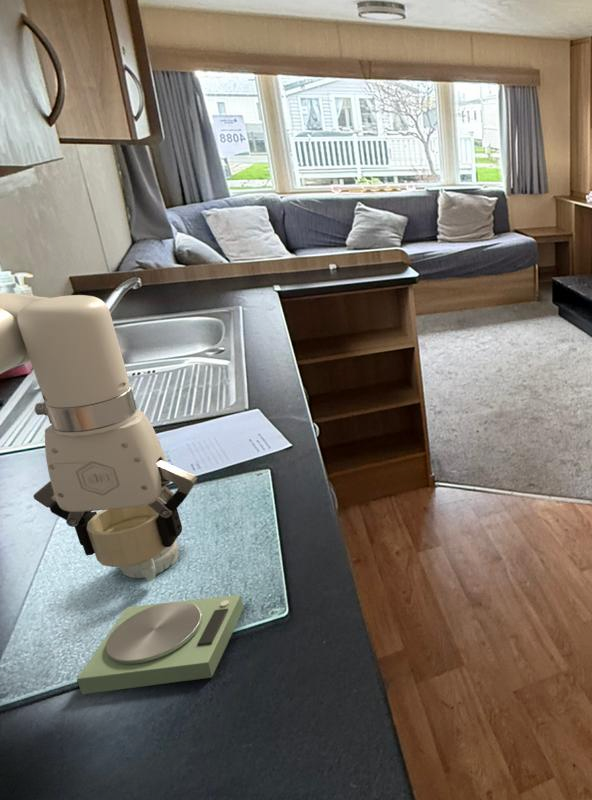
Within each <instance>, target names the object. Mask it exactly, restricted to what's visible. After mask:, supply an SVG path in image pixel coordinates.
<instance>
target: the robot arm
mask: <svg viewBox="0 0 592 800" xmlns="http://www.w3.org/2000/svg"><path fill="white" fill-rule="evenodd" d="M27 363H31V366H32V370H33V372H34V375H35V377H36V381H37V384H38V387H39V390H40V393H41V396H42V399H43V402H37V403H36V404H35V406H34V413H35V414H36V415H37V416H46V417H47V418H48V421H49V424H50V425H49V426H48V427H46V428H45V430H44V451H45V459H46V465H47V471H48V476H49V480H50V481H48V482H47V483H45V485H43V486H42V487H40V488H39V490H37V491H36V492H35V493H34V494H33V499H34V500H35V501H37V502H38V503H39V504H41V505H43V506H44V507H46V508H49V511H50V512H51V513H52V514H53V515H56V516H57V517H59V518H60V519H63V520H65V522H66V525H67V526H69V527H71V528H74V530H75V532H76V536H77V538H78V542H79V544H80V546H82V548H83V550H84V554H85V555H86V556H93V555H95V552H94V549H93V546H92V543H91V540H90V537H89V534H88V531H87V524H88V522H89V521H90V520H91V518H92V517H93V516H95V515H96V514H98V512H97V511H102V510H109V509H120V508H130V507H139V506H145V505H149V506H150V507H151V508H152V509H153V510H154V511H155V512H157V513H158V514H159V515H160V516H159V517H158V518H157V520H156V523H157V527H158V530H159V534H160V537H161V541H162V544H163V546H165V547H171V546H172V544H173V543H174V541H175V540H176V541H177V539H178V538H179V536H180V535H181V534H182V532H183V526H182V521H181V518H180V513H179V511H178V508H179V506H181V505H182V503H183V502H184V501H185V500H186V498H187V497H188V495H190V492H191V491H192V489H193V488H194V486H195V484H196V483H197V482H198V477H197V476H196V475H195V474H192V473H191V472H188V471H186V470H183V469H182V468H180V467H177V466H175V465H172V464H170V463H169V462H168V461H167V457H166V455H165V451H164V449H163V446H162V445H161V442H160V440H159V437H158V435H157V433H156V431H155V429H154V427H153V424H152V423H151V421H150V420H149V418H148V416H147V415H146V413H145V412H144V411H143V410H138V408H137V403H136V400H135V397H134V393H133V390H132V387H131V383H130V379H129V376H128V372H127V368H126V364H125V361H124V357H123V355H122V351H121V346H120V343H119V339H118V335H117V332H116V329H115V326H114V322H113V318H112V315H111V311H110V308H109V307H108V305H107V304H106V302H105V301H103V300H102V299H100V298H99V297H96V296H93V295H84V294H75V295H74V294H73V295H61V296H54V297H53V296H52V297H46V296H39V295H38V296H37V295H30V294H22V293H13V292H1V293H0V375H1V374H3V373H5V372H7V371H9V370H11V369H14V368H17V367H20V366H22V365H24V364H27ZM171 483H173V484H175V485H177V489H176V491H175V493H174V492H173V491H171V490H170V488H169V487H167V486H168V485H170V484H171Z"/></svg>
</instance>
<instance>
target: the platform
mask: <svg viewBox="0 0 592 800" xmlns="http://www.w3.org/2000/svg"><path fill="white" fill-rule="evenodd" d="M163 603H164V604H161V603H158V604H159V605H156V606H153V607H150V608H147V609H145V610H143V611H141V612H139V613H137V614H135V615H133V616H131V617H130V618H128V619H127V620H125V621H124V622H123V623H121V624H120V625H119V626H118V627H117V628H116V629H115V630H114V631H113V632H112V634H111V635H110V637H109V638H108V641H107V644H106V650H107V653H108V656H109V657H110V658H111V659H112V660H113V661H115V662H118V663H122V664H138V663H144V662H148V661H152V660H155V659H158V658H160V657H163V656H165V655H167V654H169V653H171V652H173V651H175V650H176V649H178V648H179V647H181V646H182V645H184V644H185V643H186V642H187V641H189V640H190V639H191V638H192V637H193V636H194V635H195V633H196V632H197V631H198V629H199V627H200V625H201V622H202V616H201V612H200V610H199V608H198V607H197V606H195V605H193V604H191V603H187V602H179V601H170V602H163Z"/></svg>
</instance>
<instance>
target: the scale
mask: <svg viewBox="0 0 592 800" xmlns="http://www.w3.org/2000/svg"><path fill="white" fill-rule="evenodd" d="M178 602H187V603H191V604H193V605H195V606H197V607H198V608H199V610H200V612H201V616H202V622H201V625H200V627H199V629H198V631H197V632H196V633H195V635H194V636H193V637H192V638H191V639H190V640H189V641H187V642H186V643H185V644H184V645H182V646H181V647H179V648H178V649H176V650H175V651H173V652H171V653H169V654H167V655H165V656H163V657H160V658H158V659H155V660H152V661H148V662H144V663H138V664H122V663H118V662H115V661H113V660H112V659H111V658H110V657H109V656H108V653H107V650H106V644H107V641H108V638H109V637H110V635H111V634H112V632H113V631H114V630H115V629H116V628H117V627H118V626H119V625H120V624H121V623H123V622H124V621H125V620H127V619H128V618H130V617H131V616H133V615H135V614H137V613H139V612H141V611H143V610H145V609H147V608H150V607H153V606H156V605H159V604H164V603H165V602H163V603H162V602H161V603H154V604H145V605H136V606H128V607H126V608H125V609H124V611H122V613H121V615H120V616H119V618H118V619H117V621H116V622H115V624H114V625H113V626H112V628H111V629H110V631H109V632H108V633H107V634H106V636H105V638H104V640H103V641H101V643H100V645H99V646H98V648H97V649H96V651H95V652H94V654H93V655H92V657H90V659H89V660H88V662H87V663H86V664H85V667H84V668H83V669H82V670H81V672H80V673H79V675H78V676H77V678H76V681H77V685H78V687H79V689H80V693H81V694H82V695H89V694H96V693H102V692H111V691H119V690H127V689H133V688H134V689H135V688H141V687H142V688H143V687H148V686H149V687H150V686H156V685H157V686H158V685H164V684H170V683H171V684H172V683H180V682H187V681H195V680H203V679H210V678H211V679H212V678H213V676H214V674H215V672H216V670H217V667H218V666H219V663H220V661H221V659H222V657H223V655H224V652H225V650H226V648H227V646H228V644H229V642H230V639H231V637H232V635H233V633H234V631H235V628H236V626H237V624H238V622H239V620H240V619H241V616H242V614H243V612H244V610H245V607H244V604H243V603H244V602H243V599H242V596H241V594H234V595H226V596H218V597H217V596H215V597H208V598H206V597H205V598H197V599H189V600H188V599H187V600H181V601H178Z"/></svg>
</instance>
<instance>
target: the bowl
mask: <svg viewBox="0 0 592 800" xmlns="http://www.w3.org/2000/svg"><path fill="white" fill-rule="evenodd" d="M159 516H160V515H159V514H158V513H157V512H155V511H154V510H153V509H152V508H151V507H150V506H149V505H145V506H139V507H130V508H120V509H109V510H100V511H99V512H97V514H96V515H95V516H93V517H92V518H91V520H90V521H89V522H88V524H87V531H88V534H89V537H90V540H91V543H92V546H93V549H94V552H95V553H94V555H95V558H96V561H97V562H98V563H100V565H102V566H105V567H111V568H119V567H128V566H133V565H137V564H140V563H143V562H145V561H148V560H150V559H152V558H154V557H155V556H157V555H158V554H159V553H161V552H162V551H163V550H164V549H165V548H166V547H165V546H163V544H162V541H161V537H160V534H159V530H158V527H157V523H156V520H157V518H158V517H159Z"/></svg>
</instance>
